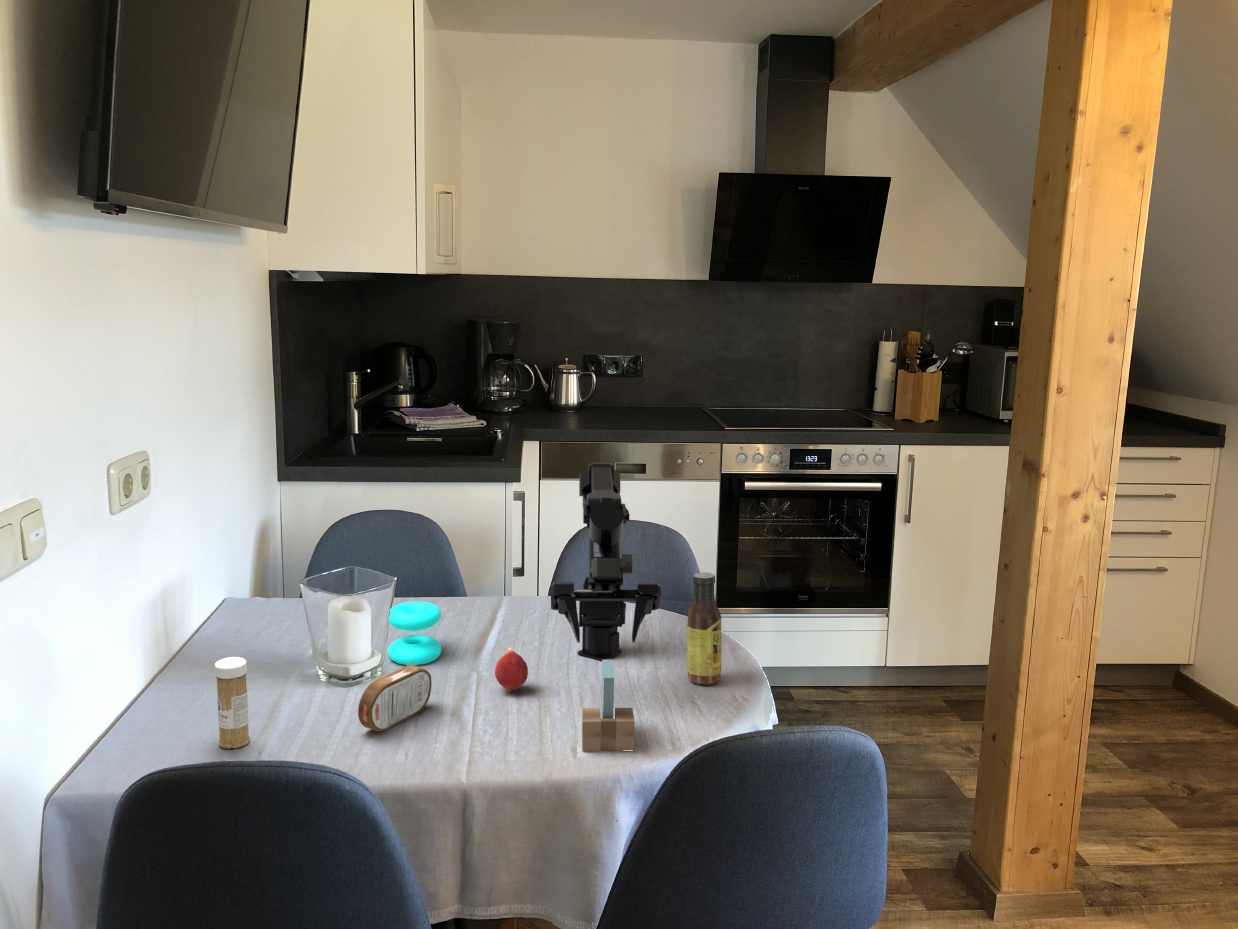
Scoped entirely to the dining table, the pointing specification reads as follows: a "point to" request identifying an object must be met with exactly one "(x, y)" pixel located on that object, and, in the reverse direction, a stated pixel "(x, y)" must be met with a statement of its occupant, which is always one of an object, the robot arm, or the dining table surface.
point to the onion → (511, 671)
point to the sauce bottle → (704, 633)
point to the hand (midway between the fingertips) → (606, 641)
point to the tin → (394, 698)
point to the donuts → (414, 646)
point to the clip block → (607, 730)
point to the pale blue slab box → (607, 690)
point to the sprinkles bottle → (232, 702)
